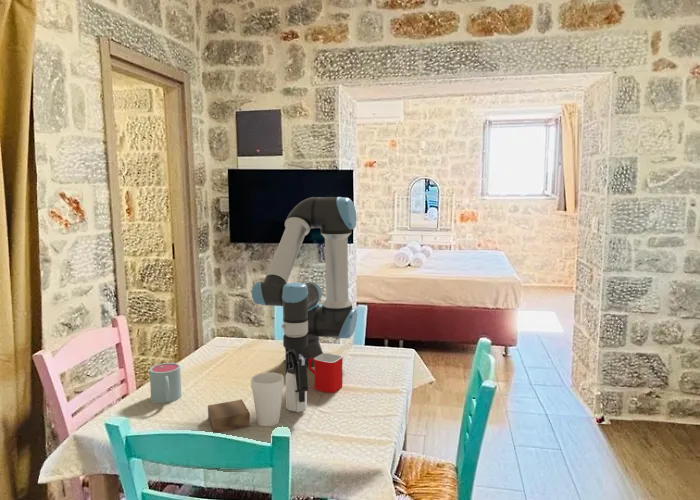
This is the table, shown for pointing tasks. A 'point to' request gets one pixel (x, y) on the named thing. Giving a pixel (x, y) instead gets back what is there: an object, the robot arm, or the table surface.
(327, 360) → the mug
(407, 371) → the table surface
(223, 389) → the table surface
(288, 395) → the can
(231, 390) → the table surface
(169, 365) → the mug
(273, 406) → the foam cup
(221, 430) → the walnut block
